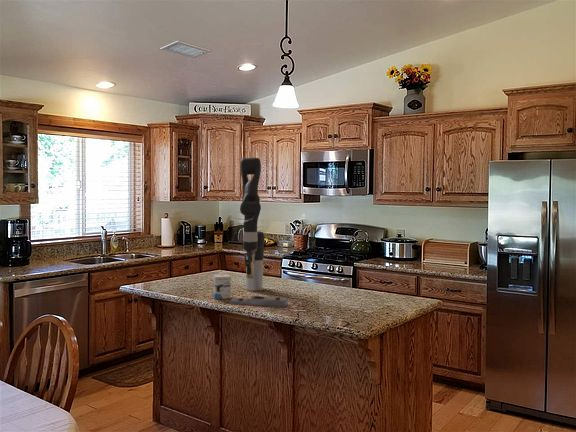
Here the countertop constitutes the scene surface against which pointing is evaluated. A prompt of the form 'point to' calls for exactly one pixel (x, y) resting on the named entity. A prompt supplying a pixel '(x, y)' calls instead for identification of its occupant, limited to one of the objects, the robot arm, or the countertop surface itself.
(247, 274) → the link pin
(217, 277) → the ink box
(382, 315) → the countertop surface
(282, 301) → the link plates
